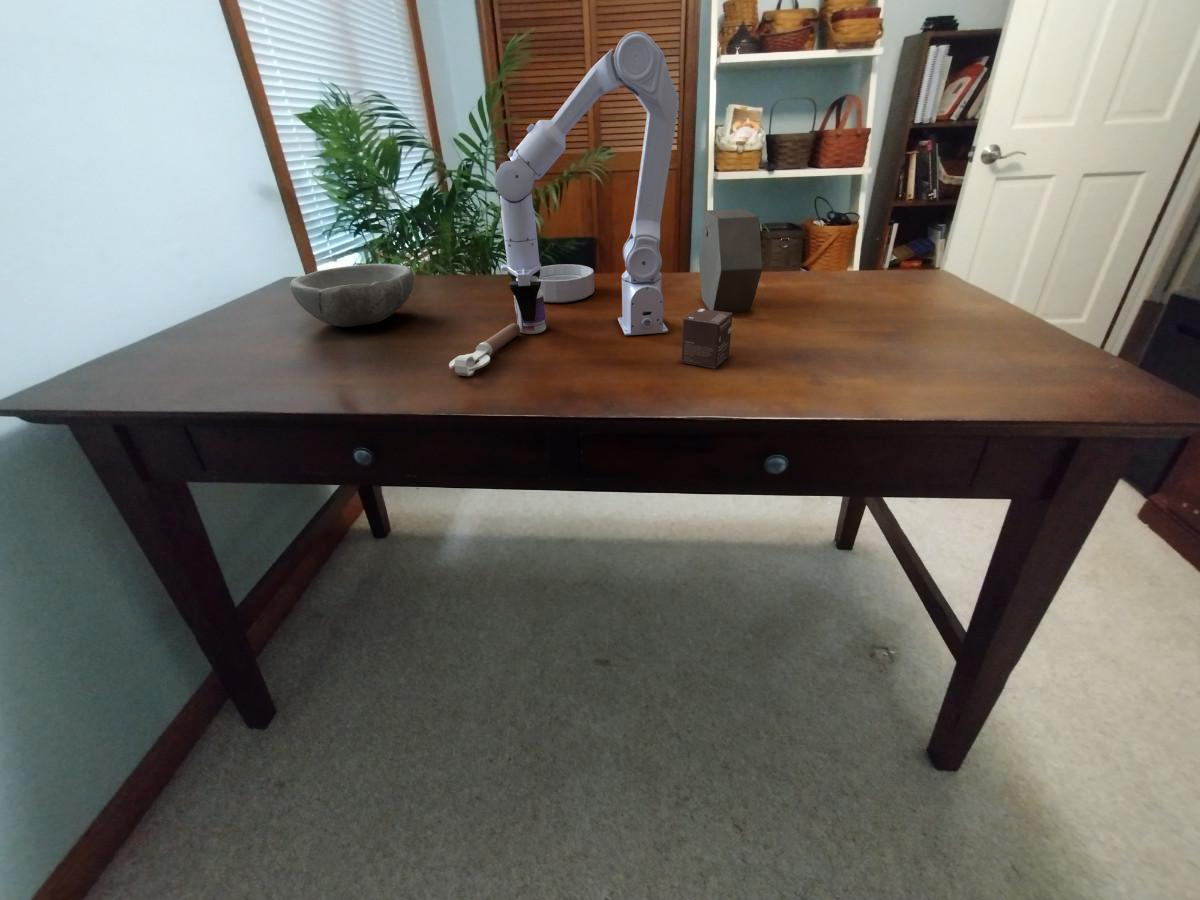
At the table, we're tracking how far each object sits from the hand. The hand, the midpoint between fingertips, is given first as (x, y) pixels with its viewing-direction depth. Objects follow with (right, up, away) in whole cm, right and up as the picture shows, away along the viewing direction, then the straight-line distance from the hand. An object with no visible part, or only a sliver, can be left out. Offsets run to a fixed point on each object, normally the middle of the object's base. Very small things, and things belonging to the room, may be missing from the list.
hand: (529, 315), depth 102 cm
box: (+30, -11, -14) cm, 35 cm away
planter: (+39, +5, +11) cm, 41 cm away
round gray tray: (+5, +10, +22) cm, 24 cm away
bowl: (-35, +1, +10) cm, 37 cm away
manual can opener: (-6, -9, -9) cm, 14 cm away
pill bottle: (0, -3, +2) cm, 3 cm away
